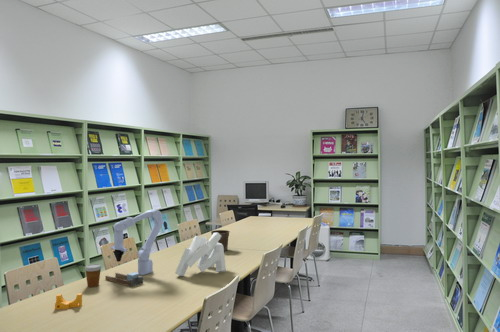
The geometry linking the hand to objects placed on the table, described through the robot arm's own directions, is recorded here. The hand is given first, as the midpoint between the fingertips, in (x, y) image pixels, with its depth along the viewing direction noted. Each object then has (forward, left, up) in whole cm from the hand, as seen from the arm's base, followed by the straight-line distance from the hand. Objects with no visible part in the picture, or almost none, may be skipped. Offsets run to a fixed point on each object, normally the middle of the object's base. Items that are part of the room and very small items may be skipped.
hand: (118, 261), depth 253 cm
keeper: (+5, +20, -10) cm, 23 cm away
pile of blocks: (-38, +41, -10) cm, 57 cm away
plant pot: (-98, +9, -10) cm, 99 cm away
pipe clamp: (+49, +24, -10) cm, 56 cm away
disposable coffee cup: (+21, +3, -10) cm, 23 cm away
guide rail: (+5, +11, -10) cm, 16 cm away
